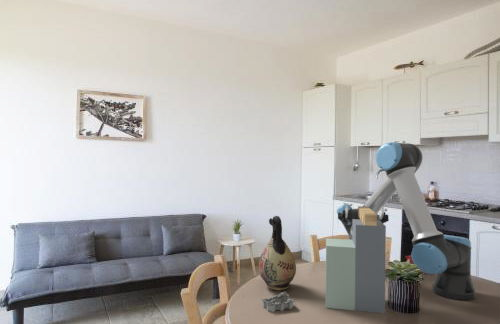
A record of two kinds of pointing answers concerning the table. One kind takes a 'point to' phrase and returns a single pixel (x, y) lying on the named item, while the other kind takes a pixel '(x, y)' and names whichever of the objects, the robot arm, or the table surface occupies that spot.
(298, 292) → the table surface
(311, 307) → the table surface
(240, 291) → the table surface
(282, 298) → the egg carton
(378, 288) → the two-step stand
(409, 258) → the flower
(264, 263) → the ceramic jug
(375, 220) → the oak bar
